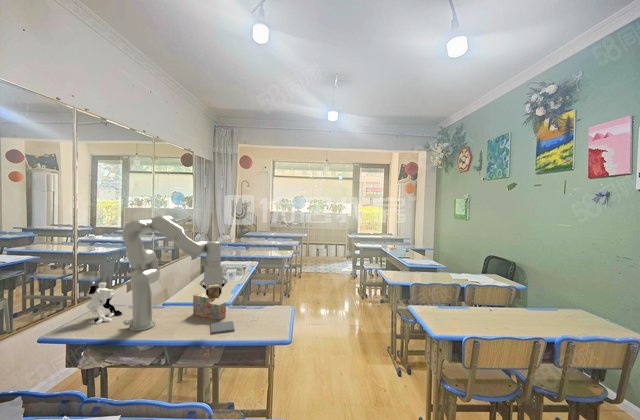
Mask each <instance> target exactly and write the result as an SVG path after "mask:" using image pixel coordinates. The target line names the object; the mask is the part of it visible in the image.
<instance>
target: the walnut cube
mask: <svg viewBox="0 0 640 420" xmlns="http://www.w3.org/2000/svg"><path fill="white" fill-rule="evenodd" d="M208 290H209V299H214V298H215V299H219V298H220V296H219V285H209V287H208Z"/></svg>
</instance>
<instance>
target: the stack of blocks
mask: <svg viewBox="0 0 640 420" xmlns="http://www.w3.org/2000/svg"><path fill="white" fill-rule="evenodd" d="M192 305H193V306H192V307H193V308H192V314H193V315H196V316H199V317H202V318H203V317H204V318H207V319H208V318H209V319H213V320H215V319H216V321H220V320H222V319H224V318H226V314H227V313H226V312H227V308H226V307H227V302H226V301H223V300H217V299H216V298H214V299H209V297H207V295H206V292H199V293H195V294H193V296H192Z"/></svg>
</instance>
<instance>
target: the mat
mask: <svg viewBox="0 0 640 420" xmlns="http://www.w3.org/2000/svg"><path fill="white" fill-rule="evenodd" d="M210 332H211V333H210V334H211V335H213V334H220V333H221V334H222V333H228V332H229V333H230V332H235V325H234V320H229V321H221V322H213V323H212V322H211V323H210Z"/></svg>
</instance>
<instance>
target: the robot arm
mask: <svg viewBox="0 0 640 420" xmlns="http://www.w3.org/2000/svg"><path fill="white" fill-rule="evenodd" d="M151 233H160V234H161V235H163V236H165V237H166V238H168V239H170V240H171V241H173V243H174V244H175V245H176V247H177V248H178V249H180V250H181V251H182V252H184V253H185V254H187V255H189V256H192V257H199V256H201V255H204V254H206V255H205V256H206V257H205V258H206V261H203V265H205V267H204V272H203V278H202V280H200V281H199V286H201V287H202V288H203V289H204V290H205V294H206V295H207V297H209V290H208V287H209V286H217V285H218V286H219V297H220V296H221V294H222V290H223V287H225V285H226V284H228V282H229V281H228V279H226V277H224V270H223V265H222V262H221V261H222V260H221V259H222V258H221V257H222V256H221V247H222V246H221V242H220V241H217V240H215V241H213V240H212V241H207V240H199V241H198V240H197V241H194V240H193V239H191V238H189V237H188V236H187V235H186V234H185V229H184V228H183V227H182V226H180V225H179V224H177V223H176V220H175V219H174V218H173V216H172V215H168V214H162V215H157V216H155V217H149V218H140V219H135V220H130V221H129V222H127V223H126V224H125V225H124V226H123V228H122V234H121V235H122V238H123V239H122V240H123V242H124V245H125V250H126V255H127V258H128V263H129V266H130V267H131V268H132V269H138V270H137V271H136V272H135V273H133V274H132V276H131V278H130V286H131V291H132V318H131V319H130V320H128V319H127V320H123V323H122V324H123V325H125V326H129V327H128V329H129V330H130V331H133V332H134V331H135V332H137V331H138V332H139V331H145V330H149V329H151V328H153V327H155V326H156V321H154V320H153V290H152V287H151V285H152V284H154V283H156V282H158V280H160V277H161V270H160V266H159V263H158V258H157V254H156V253H155V251H154V250H152V249H150V248H145V246H144V242H143V240H142V238H141V237H140V236H141V235H145V234H146V235H147V234H151ZM139 269H141V270H139Z"/></svg>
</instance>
